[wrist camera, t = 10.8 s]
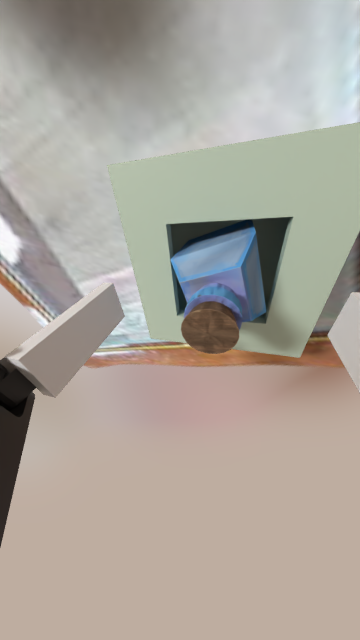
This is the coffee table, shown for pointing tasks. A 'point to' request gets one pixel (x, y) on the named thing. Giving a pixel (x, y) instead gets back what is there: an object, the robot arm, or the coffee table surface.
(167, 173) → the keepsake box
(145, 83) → the coffee table surface
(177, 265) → the perfume bottle
